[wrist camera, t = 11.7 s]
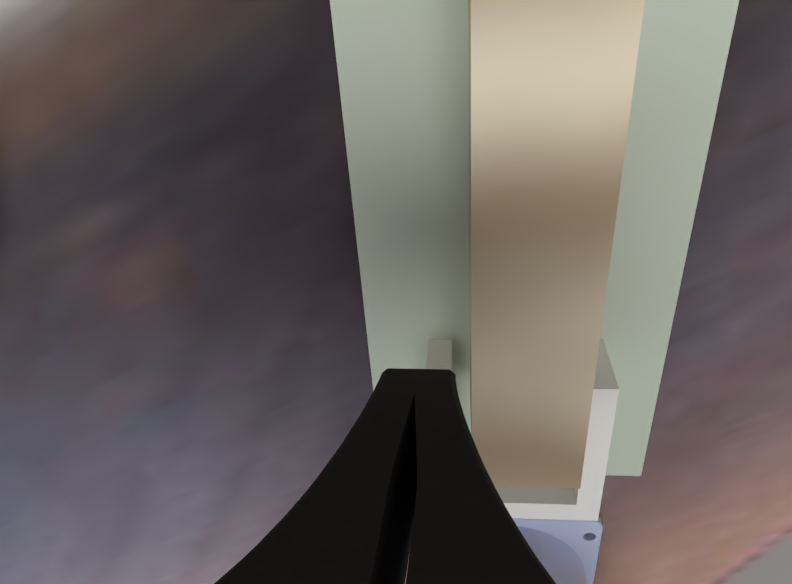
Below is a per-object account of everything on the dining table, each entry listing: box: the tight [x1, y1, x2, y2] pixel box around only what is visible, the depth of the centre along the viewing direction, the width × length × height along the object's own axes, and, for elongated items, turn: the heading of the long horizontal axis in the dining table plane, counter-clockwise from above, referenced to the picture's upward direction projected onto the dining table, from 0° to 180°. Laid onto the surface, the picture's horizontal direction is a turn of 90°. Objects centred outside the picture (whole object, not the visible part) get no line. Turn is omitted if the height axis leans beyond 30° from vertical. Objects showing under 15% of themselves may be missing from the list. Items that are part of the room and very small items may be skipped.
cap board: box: [330, 0, 739, 476], centre depth 18 cm, size 24×10×1 cm, turn 4°
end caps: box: [426, 339, 619, 521], centre depth 17 cm, size 23×6×4 cm, turn 4°
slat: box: [468, 0, 645, 489], centre depth 15 cm, size 16×3×5 cm, turn 4°
